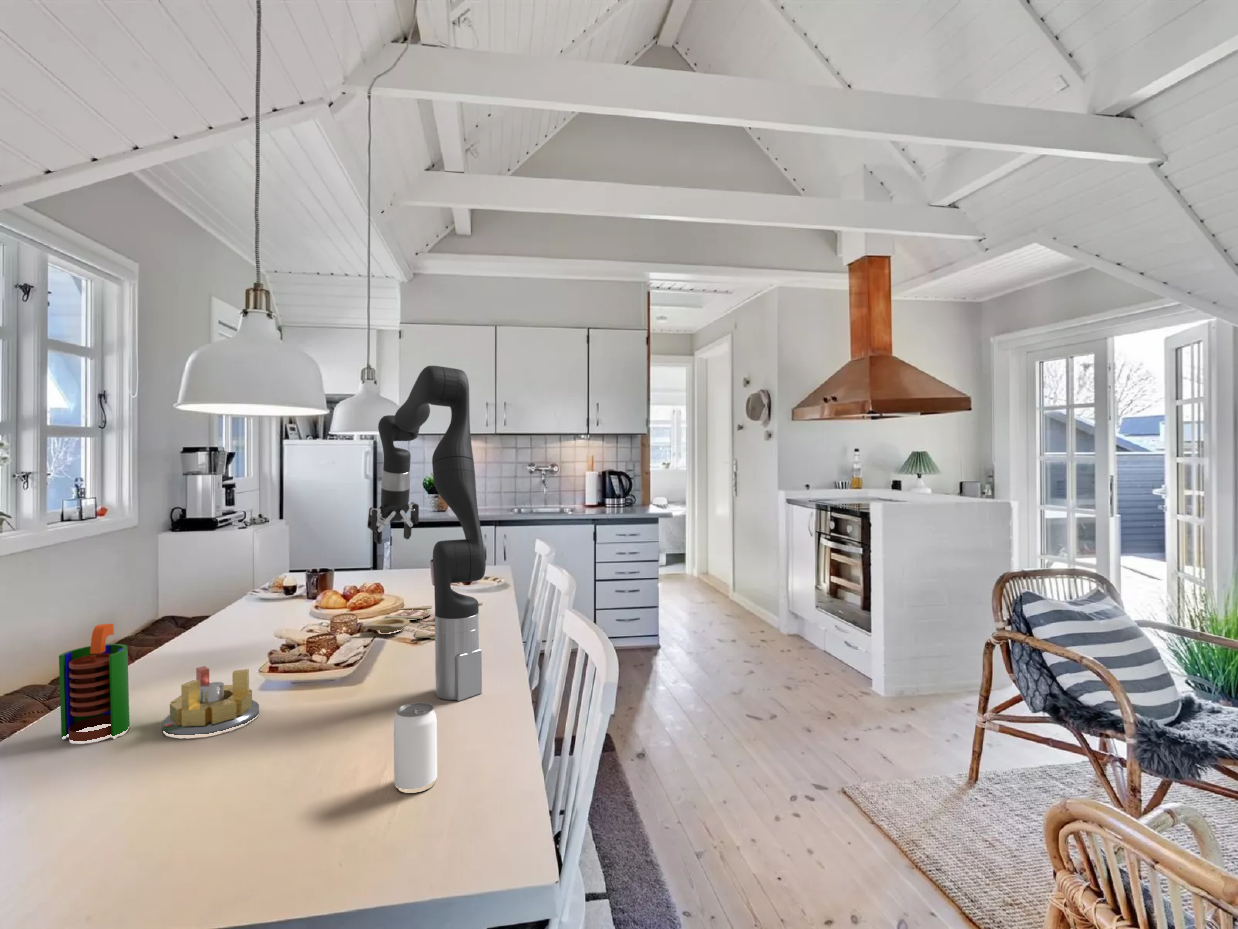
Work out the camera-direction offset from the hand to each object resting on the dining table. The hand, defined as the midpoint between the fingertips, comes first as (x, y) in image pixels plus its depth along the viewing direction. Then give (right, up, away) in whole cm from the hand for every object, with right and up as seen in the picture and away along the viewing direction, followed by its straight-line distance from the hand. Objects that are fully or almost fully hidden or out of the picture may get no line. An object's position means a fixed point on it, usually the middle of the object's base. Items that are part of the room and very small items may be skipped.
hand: (392, 540), depth 188 cm
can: (+32, -29, -84) cm, 94 cm away
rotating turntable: (-15, -28, -59) cm, 67 cm away
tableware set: (+5, -27, +13) cm, 31 cm away
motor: (-33, -29, -64) cm, 78 cm away
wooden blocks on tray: (-15, -27, -59) cm, 66 cm away
